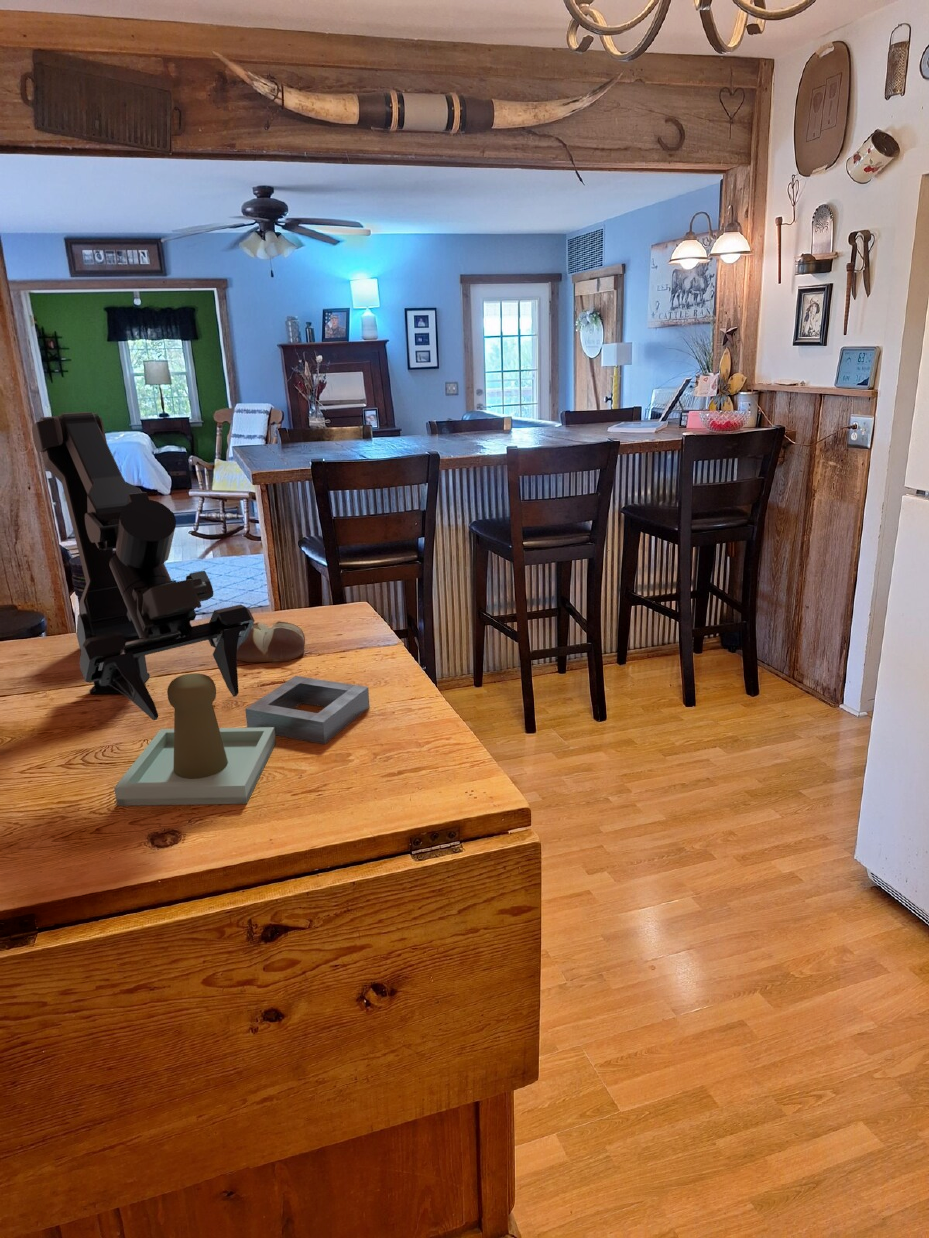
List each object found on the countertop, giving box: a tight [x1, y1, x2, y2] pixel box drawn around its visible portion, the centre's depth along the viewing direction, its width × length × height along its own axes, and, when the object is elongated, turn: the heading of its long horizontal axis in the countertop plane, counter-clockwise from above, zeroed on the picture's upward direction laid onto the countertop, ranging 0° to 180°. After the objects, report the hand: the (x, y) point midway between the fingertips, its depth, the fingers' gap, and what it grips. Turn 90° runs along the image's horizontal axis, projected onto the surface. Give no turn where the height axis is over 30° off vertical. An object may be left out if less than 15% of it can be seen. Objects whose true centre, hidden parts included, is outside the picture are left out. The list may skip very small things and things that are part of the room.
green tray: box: [113, 727, 277, 807], centre depth 94 cm, size 14×14×2 cm
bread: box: [237, 620, 306, 663], centre depth 130 cm, size 11×11×5 cm
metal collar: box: [244, 675, 370, 745], centre depth 107 cm, size 12×12×3 cm
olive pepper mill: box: [166, 672, 228, 779], centre depth 92 cm, size 6×6×11 cm
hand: (197, 706), depth 90 cm, fingers open, 9 cm apart
